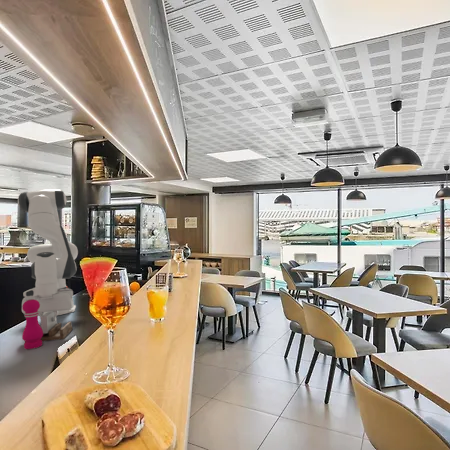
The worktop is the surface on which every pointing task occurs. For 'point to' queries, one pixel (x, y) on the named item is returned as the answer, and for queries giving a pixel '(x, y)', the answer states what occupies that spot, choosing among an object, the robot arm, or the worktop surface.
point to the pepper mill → (32, 324)
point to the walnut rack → (57, 332)
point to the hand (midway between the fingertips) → (49, 321)
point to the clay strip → (47, 321)
